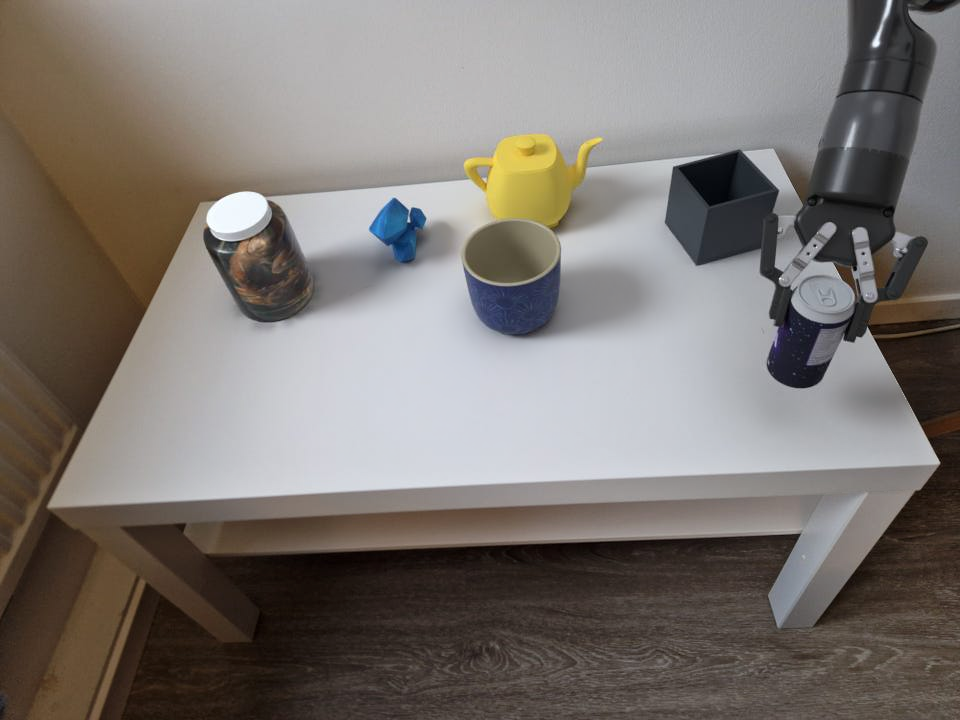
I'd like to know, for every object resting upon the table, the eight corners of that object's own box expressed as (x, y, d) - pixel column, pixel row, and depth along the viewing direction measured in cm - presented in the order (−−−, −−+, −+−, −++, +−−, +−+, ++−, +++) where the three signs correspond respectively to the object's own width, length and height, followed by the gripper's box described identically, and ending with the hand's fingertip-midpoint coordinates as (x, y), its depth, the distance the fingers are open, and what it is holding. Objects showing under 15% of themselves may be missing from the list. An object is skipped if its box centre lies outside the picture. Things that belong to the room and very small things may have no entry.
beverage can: (815, 351, 72) (851, 271, 62) (827, 394, 68) (867, 315, 59) (760, 351, 73) (787, 271, 63) (769, 393, 69) (799, 315, 60)
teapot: (604, 234, 98) (608, 162, 88) (470, 244, 100) (460, 175, 90) (594, 179, 106) (597, 108, 97) (471, 189, 108) (461, 121, 98)
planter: (461, 291, 94) (450, 231, 85) (544, 269, 95) (542, 207, 86) (484, 355, 86) (475, 296, 77) (574, 330, 87) (575, 269, 79)
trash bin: (726, 205, 99) (740, 148, 92) (762, 247, 93) (779, 190, 85) (664, 222, 98) (672, 166, 91) (696, 265, 92) (707, 209, 84)
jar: (220, 306, 97) (173, 226, 85) (273, 256, 103) (235, 175, 91) (280, 332, 92) (238, 252, 81) (331, 278, 98) (300, 196, 86)
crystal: (426, 184, 99) (414, 220, 89) (433, 236, 104) (422, 275, 95) (378, 186, 100) (360, 222, 90) (387, 238, 105) (372, 277, 96)
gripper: (782, 134, 59) (734, 319, 62) (967, 156, 55) (907, 354, 57) (776, 152, 66) (733, 317, 69) (940, 172, 62) (887, 348, 64)
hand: (812, 333), depth 63 cm, fingers closed on beverage can, 5 cm apart
